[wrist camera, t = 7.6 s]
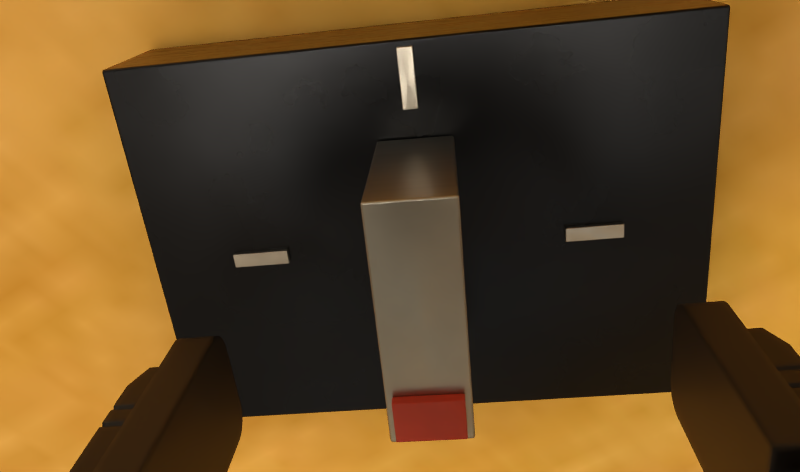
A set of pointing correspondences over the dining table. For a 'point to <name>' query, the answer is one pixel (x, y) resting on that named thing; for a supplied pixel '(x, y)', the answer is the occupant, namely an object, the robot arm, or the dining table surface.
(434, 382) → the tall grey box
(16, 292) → the dining table surface
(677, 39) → the panel
